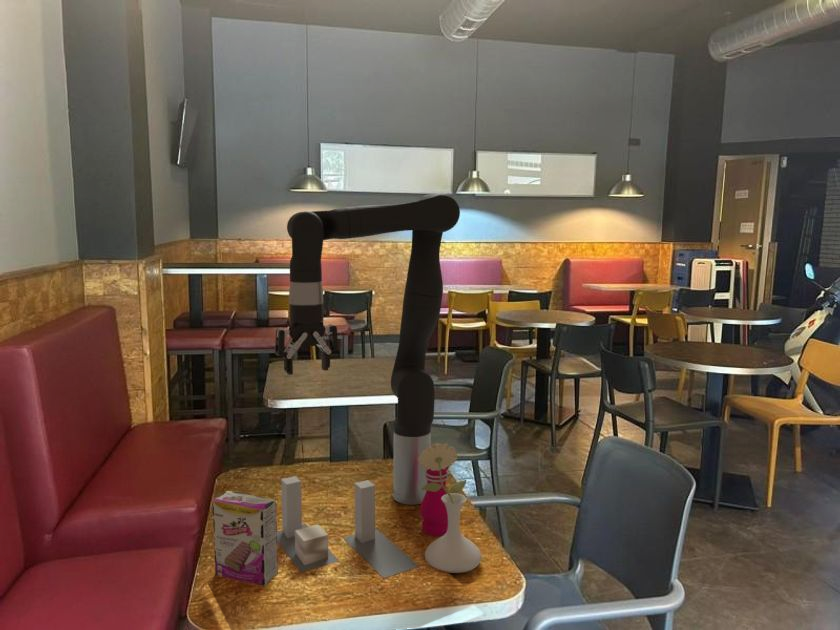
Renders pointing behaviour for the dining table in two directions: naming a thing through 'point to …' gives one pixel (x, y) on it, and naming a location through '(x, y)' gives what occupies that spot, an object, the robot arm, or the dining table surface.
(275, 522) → the candy bar box
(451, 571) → the flower in vase
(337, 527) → the dining table surface
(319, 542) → the pale block
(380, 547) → the grey base with post
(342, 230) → the robot arm
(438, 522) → the pepper mill
